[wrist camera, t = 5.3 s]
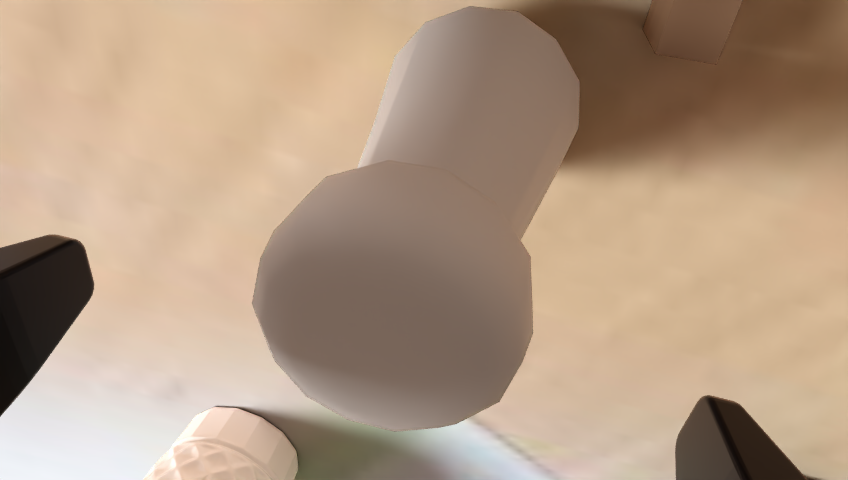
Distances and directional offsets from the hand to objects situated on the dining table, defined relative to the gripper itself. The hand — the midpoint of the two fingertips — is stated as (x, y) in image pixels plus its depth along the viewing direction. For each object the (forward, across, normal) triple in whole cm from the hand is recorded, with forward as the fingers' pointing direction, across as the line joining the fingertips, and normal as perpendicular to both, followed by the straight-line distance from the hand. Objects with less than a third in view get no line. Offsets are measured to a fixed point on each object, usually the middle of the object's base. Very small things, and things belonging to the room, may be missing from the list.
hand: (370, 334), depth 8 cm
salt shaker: (+13, 0, 0) cm, 13 cm away
